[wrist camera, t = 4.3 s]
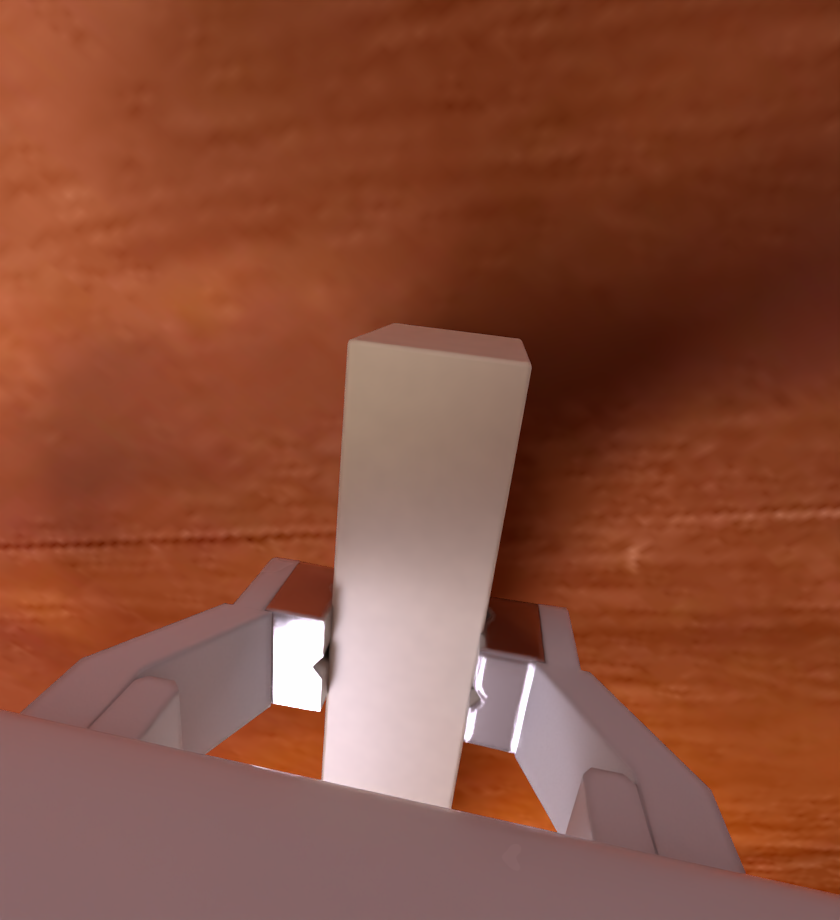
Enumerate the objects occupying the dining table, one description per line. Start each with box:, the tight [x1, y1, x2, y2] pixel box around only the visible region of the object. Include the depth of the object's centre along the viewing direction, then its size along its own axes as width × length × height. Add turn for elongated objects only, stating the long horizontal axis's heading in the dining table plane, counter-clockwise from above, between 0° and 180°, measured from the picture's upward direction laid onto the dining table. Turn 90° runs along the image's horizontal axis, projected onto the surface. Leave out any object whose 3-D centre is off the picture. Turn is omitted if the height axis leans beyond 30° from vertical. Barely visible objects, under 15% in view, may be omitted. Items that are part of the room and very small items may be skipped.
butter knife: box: [321, 323, 532, 809], centre depth 12 cm, size 23×2×3 cm, turn 173°
